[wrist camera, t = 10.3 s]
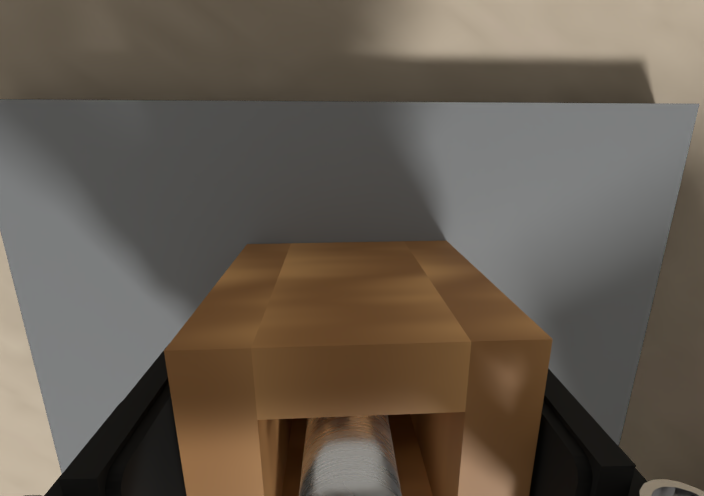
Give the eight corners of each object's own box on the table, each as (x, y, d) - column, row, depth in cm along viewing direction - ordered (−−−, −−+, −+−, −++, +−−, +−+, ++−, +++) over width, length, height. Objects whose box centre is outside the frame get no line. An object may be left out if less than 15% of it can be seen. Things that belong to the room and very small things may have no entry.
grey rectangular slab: (657, 107, 12) (699, 103, 11) (583, 462, 16) (607, 494, 15) (12, 103, 12) (-33, 98, 10) (95, 474, 16) (70, 508, 14)
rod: (373, 306, 12) (408, 478, 6) (371, 356, 13) (403, 562, 7) (316, 306, 12) (293, 481, 6) (317, 357, 13) (297, 567, 7)
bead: (446, 240, 12) (552, 338, 6) (435, 407, 14) (512, 607, 8) (247, 244, 12) (163, 351, 6) (261, 414, 13) (207, 626, 8)
